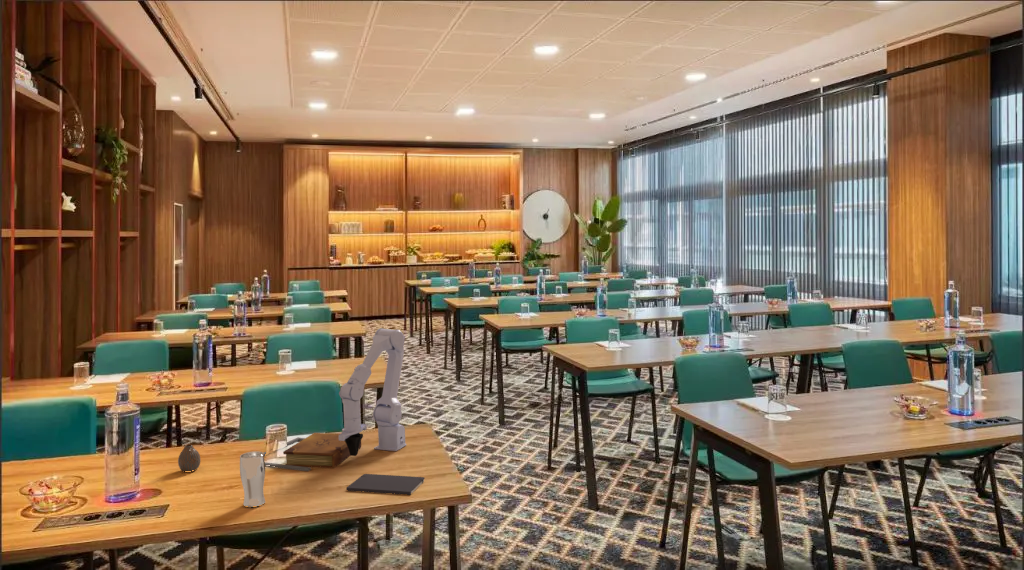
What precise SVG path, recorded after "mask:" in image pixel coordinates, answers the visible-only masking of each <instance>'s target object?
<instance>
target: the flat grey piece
mask: <svg viewBox="0 0 1024 570" xmlns="http://www.w3.org/2000/svg"><path fill="white" fill-rule="evenodd" d="M305 438H306V437H296V438H293V439H292V440H288V441H287V446H286V447H288V446H291V445H293V444H294V443H295V444H296V443H298V442H300V441H302V440H303V439H305ZM263 453H264V457H265V454H266V451H264V452H263ZM265 465H270V466H275V467H278V468H277V469H284V470H295V471H302V472H303V471H304V472H310V471H311V470H312V467H302V466H293V465H285V463H284V464H282V463H275V462H273V463H272V462H266V461H265ZM275 467H274V468H275Z"/></svg>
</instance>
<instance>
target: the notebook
mask: <svg viewBox="0 0 1024 570" xmlns="http://www.w3.org/2000/svg"><path fill="white" fill-rule="evenodd" d="M424 482H425V477H422V476H411V475H410V476H407V475H392V474H390V475H389V474H375V473H363V474H362V475H361V476H359V477H358V478H357V479H355V481H352V483H351V484H349V485H347V487H346V489H345V491H346V490H348V491H347V492H356V491H361V492H360V493H371V492H374V493H373V494H386V493H392V494H391V495H401V494H407V496H411V495H412V494H413V493H414V492H415V491H416V490H417V489H418V488H419V487H420V486H421V485H422V484H424ZM362 491H364V492H362ZM394 493H395V494H394ZM411 493H412V494H411Z"/></svg>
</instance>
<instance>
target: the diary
mask: <svg viewBox="0 0 1024 570" xmlns="http://www.w3.org/2000/svg"><path fill="white" fill-rule="evenodd" d="M340 434H341V433H337V432H336V433H335V432H333V433H332V432H331V433H330V432H313V433H311V434H310V435H308V436H307V437H304V438H305V439H303V440H302V441H297V442H296V443H295V444H294V445H293V444H292V446H290V447H288V448H287V449H286V450H284V451H283V455H285V460H286V461H285V463H284V465H293V466H302V467H310V468H315V469H317V468H318V469H319V468H320V469H335V468H336V467H337V466H339V465H340V464H341V463H342V462H344V461H346V459H348V458H349V457H350V456H351V455H350V452H349V449H348V446H347V444H346V442H345V441H339V435H340ZM361 448H362V441H361V442H360V445H359V449H361Z"/></svg>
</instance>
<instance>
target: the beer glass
mask: <svg viewBox="0 0 1024 570" xmlns="http://www.w3.org/2000/svg"><path fill="white" fill-rule="evenodd" d="M265 462H266V461H265V456H264V452H263V451H257V450H256V451H255V450H254V451H248V452H244V453H242V454H240V456H239V473H240V474H239V475H240V480H241V481H240V482H241V483H242V484H241V485H242V487H243V488H242V489H243V493H244V497H243V498H244V499H243V505H244V506H248V507H253V506H259V505H262V504H264V503H265V504H266V499H265V498H266V497H265V496H264V485H265V477H266V466H265ZM265 504H264V505H265ZM244 506H243V507H244ZM262 506H263V505H262Z"/></svg>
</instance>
